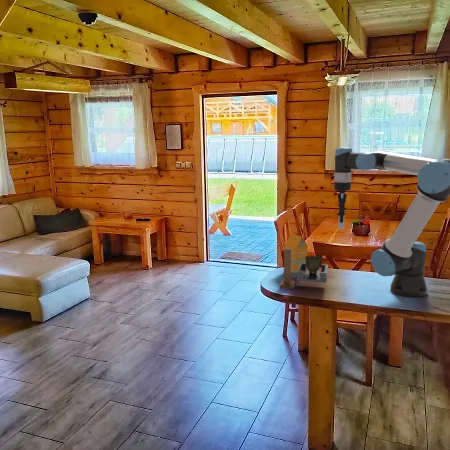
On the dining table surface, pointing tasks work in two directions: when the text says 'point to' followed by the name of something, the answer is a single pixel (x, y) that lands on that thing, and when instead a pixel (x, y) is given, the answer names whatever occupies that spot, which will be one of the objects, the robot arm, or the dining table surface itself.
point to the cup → (313, 263)
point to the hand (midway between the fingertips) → (341, 226)
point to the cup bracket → (300, 272)
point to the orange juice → (296, 250)
